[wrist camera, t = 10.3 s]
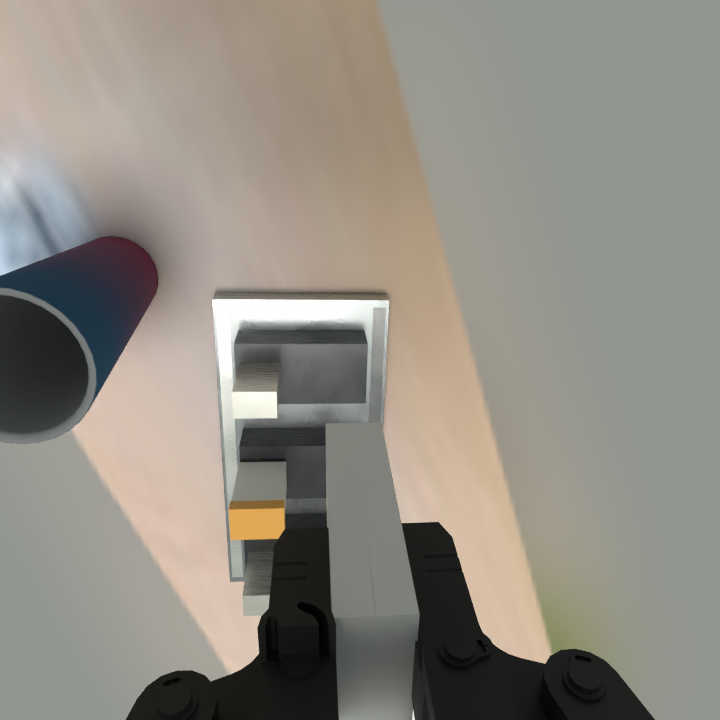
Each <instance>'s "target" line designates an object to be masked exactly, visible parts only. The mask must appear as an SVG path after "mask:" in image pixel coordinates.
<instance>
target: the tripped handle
mask: <svg viewBox="0 0 720 720" xmlns="http://www.w3.org/2000/svg"><path fill="white" fill-rule="evenodd" d="M286 493H287V470H286V462H239V465H238V470H237V475H236V480H235V485H234V490H233V495H232V500H231V501H230V505H229V525H230V540H255V539H278V538H279V537H280V535H281V534H282V532H283V531H284V529H285V511H286Z"/></svg>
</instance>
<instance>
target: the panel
mask: <svg viewBox="0 0 720 720" xmlns="http://www.w3.org/2000/svg"><path fill="white" fill-rule="evenodd" d="M212 305H213V320H214V336H215V352H216V368H217V383H218V399H219V415H220V430H221V446H222V462H223V478H224V493H225V509H226V525H227V541H228V556H229V572H230V582H236V581H245V583H244V591H243V610H244V616H255V615H263V614H264V613H265V612H266V611H267V610H268V609H269V598H270V586H271V575H272V566H273V552H274V544H275V543H276V541H277V540H278V539H255V540H230V525H229V505H230V501H231V500H232V495H233V490H234V485H235V480H236V475H237V470H238V465H239V462H286V470H287V493H286V511H285V529H300V528H327V505H326V424H325V423H362V422H381V424H382V429H383V417H384V396H385V376H386V355H387V335H388V314H389V299H388V296H387V294H338V293H215V295H214V297H213V299H212Z"/></svg>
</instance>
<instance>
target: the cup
mask: <svg viewBox="0 0 720 720" xmlns="http://www.w3.org/2000/svg"><path fill="white" fill-rule="evenodd" d="M157 287H158V274H157V270H156V267H155V265H154V262H153V261H152V259H151V257H150V256H149V255H148V253H147V252H146V251H145V250H144V249H143V248H141V247H140V246H139V245H137V244H136V243H134V242H132V241H130V240H128V239H124V238H121V237H113V236H111V237H102V238H99V239H96V240H93V241H90V242H88V243H85V244H83V245H80V246H77V247H75V248H72V249H70V250H67V251H64V252H62V253H59V254H57V255H54V256H51V257H49V258H46V259H43V260H41V261H38V262H36V263H33V264H30V265H28V266H25V267H23V268H20V269H17V270H15V271H12V272H9V273H7V274H4V275H2V276H0V442H5V443H16V444H29V443H39V442H43V441H46V440H50V439H53V438H56V437H58V436H60V435H62V434H64V433H65V432H68V431H69V430H70V429H72V428H73V427H74V426H75V425H76V424H78V423H79V422H80V421H81V420H82V418H83V417H84V416H85V414H86V413H87V412H88V410H89V409H90V407H91V405H92V404H93V402H94V400H95V398H96V397H97V395H98V393H99V391H100V390H101V388H102V386H103V385H104V383H105V381H106V379H107V378H108V376H109V374H110V372H111V371H112V369H113V367H114V365H115V364H116V362H117V360H118V359H119V357H120V355H121V353H122V352H123V350H124V348H125V346H126V345H127V343H128V341H129V340H130V338H131V336H132V334H133V333H134V331H135V329H136V327H137V326H138V324H139V322H140V320H141V319H142V317H143V315H144V314H145V312H146V310H147V308H148V307H149V305H150V303H151V301H152V300H153V298H154V296H155V294H156V291H157Z"/></svg>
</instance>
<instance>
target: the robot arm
mask: <svg viewBox="0 0 720 720" xmlns="http://www.w3.org/2000/svg"><path fill="white" fill-rule="evenodd" d="M325 424H326V505H327V528H300V529H284V531H283V532H282V534H281V535H280V537H279V538H278V540H277V541H276V543H275V544H274V552H273V566H272V575H271V586H270V598H269V609H268V610H267V611H266V612H265V613H264V614H263V615H262V617H261V619H260V622H259V625H258V641H259V655H258V656H257V657H256V658H255V659H254V660H253V661H252V662H251V663H250V664H249V665H247V666H246V667H244V668H243V669H242V670H239V671H237V672H235V673H233V674H231V675H228V676H225V677H222V678H220V679H217V680H214V681H211V682H210V680H208V678H207V677H206V676H205V675H202V674H200V673H197V672H194V671H175V672H172V673H169V674H166V675H163V676H161V677H159V678H158V679H157V680H155V681H154V682H152V683H151V684H150V685H148V686H147V687H146V688H145V690H144V691H143V692H142V693H141V695H140V696H139V697H138V699H137V700H136V702H135V704H134V706H133V708H132V709H131V711H130V713H129V715H128V717H127V718H126V720H412V713H413V710H414V716H415V720H655V719H654V718H653V717H652V716H651V714H650V713H649V712H648V711H647V709H646V708H645V707H644V706H643V704H642V703H641V702H640V701H639V699H638V698H637V697H636V695H635V694H634V693H633V692H632V690H631V689H630V688H629V687H628V685H627V684H626V683H625V682H624V680H623V679H622V678H621V677H620V676H619V674H618V673H617V672H616V671H615V670H614V669H613V668H612V667H611V666H610V665H609V664H608V663H607V662H606V661H604V660H603V659H601V658H599V657H597V656H595V655H594V654H592V653H590V652H586V651H582V650H577V649H568V650H560V651H559V652H557V653H555V654H553V655H551V656H550V657H549V659H548V661H547V662H546V664H543V663H539V662H535V661H530V660H526V659H522V658H519V657H516V656H513V655H510V654H507V653H506V652H504V651H502V650H500V649H499V648H497V647H496V646H495V645H494V644H492V642H491V640H490V639H489V638H488V637H487V636H486V635H485V634H484V633H483V632H482V630H481V628H480V626H479V623H478V620H477V617H476V614H475V610H474V607H473V604H472V600H471V597H470V594H469V591H468V587H467V584H466V581H465V578H464V574H463V572H462V568H461V565H460V561H459V558H458V557H457V551H456V548H455V545H454V542H453V538H452V536H451V535H450V534H449V533H448V532H447V531H446V530H445V529H444V528H443V526H442V525H441V524H440V523H439V522H428V523H401V519H400V514H399V509H398V504H397V499H396V494H395V489H394V484H393V479H392V474H391V469H390V464H389V459H388V454H387V449H386V444H385V439H384V434H383V429H382V424H381V422H362V423H325Z"/></svg>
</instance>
